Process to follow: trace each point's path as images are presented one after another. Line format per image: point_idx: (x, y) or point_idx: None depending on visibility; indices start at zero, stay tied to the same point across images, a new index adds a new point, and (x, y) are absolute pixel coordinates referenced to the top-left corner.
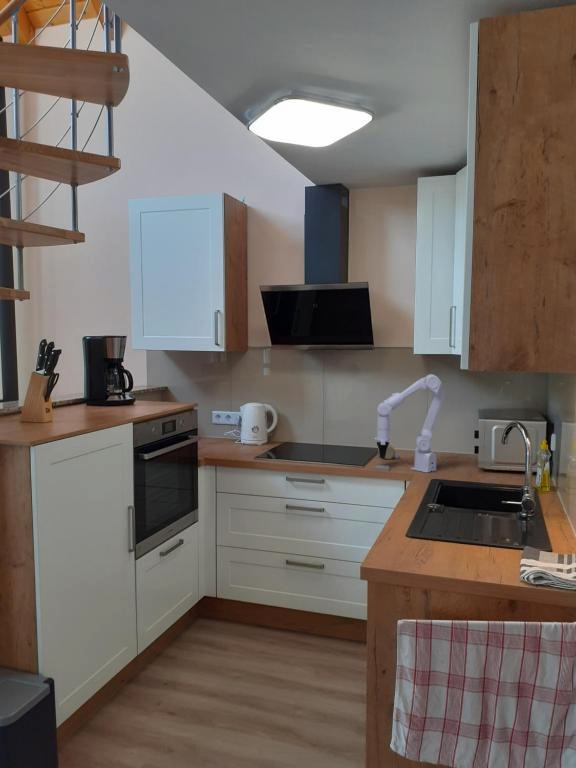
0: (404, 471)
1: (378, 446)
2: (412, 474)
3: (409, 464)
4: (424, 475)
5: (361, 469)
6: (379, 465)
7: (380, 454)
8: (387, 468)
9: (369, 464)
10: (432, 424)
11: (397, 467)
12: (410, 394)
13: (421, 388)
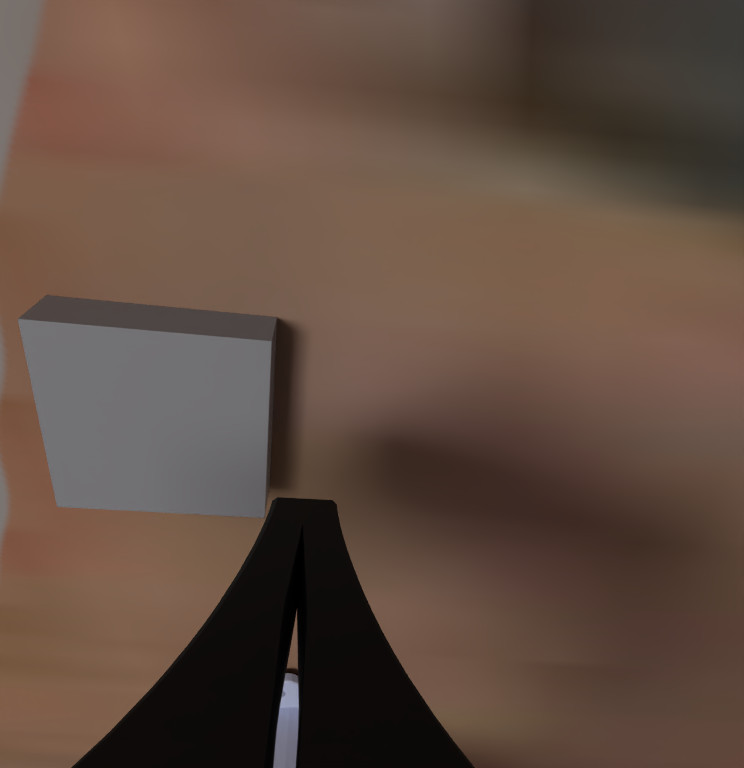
0: (164, 618)
1: (100, 746)
2: (29, 667)
3: (552, 674)
4: (30, 735)
5: (103, 18)
6: (259, 397)
7: (253, 555)
8: (56, 488)
9: (602, 236)
10: None
11: (383, 575)
12: None
13: None
